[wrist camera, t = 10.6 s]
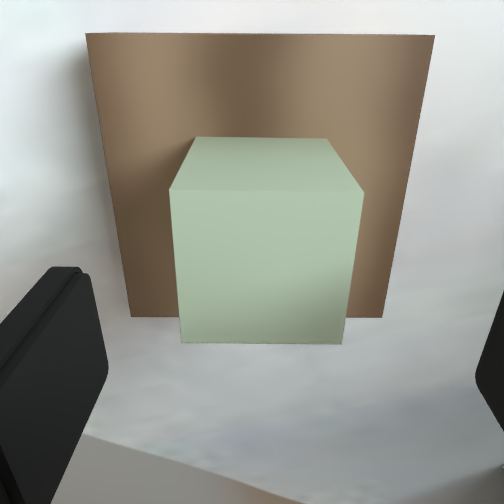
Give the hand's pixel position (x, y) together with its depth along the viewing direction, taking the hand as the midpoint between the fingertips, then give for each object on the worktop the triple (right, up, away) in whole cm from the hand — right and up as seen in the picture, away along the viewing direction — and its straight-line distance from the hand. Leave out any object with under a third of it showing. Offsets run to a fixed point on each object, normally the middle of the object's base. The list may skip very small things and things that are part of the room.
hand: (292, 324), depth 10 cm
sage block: (-1, +4, +8) cm, 8 cm away
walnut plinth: (-1, +5, +10) cm, 11 cm away
